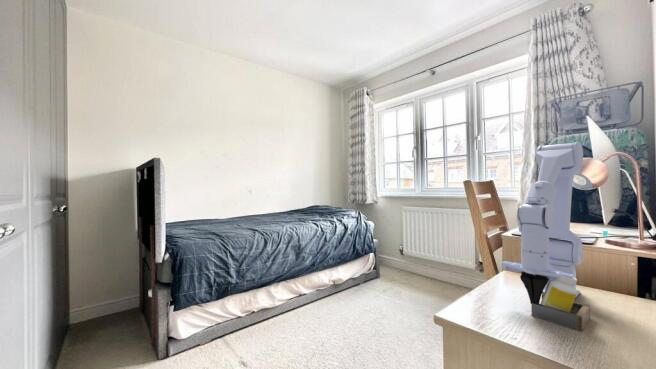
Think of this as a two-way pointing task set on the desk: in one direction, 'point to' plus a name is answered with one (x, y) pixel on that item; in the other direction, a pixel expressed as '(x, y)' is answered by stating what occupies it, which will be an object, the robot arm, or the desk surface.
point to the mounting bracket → (563, 315)
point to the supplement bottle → (560, 293)
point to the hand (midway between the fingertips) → (534, 303)
